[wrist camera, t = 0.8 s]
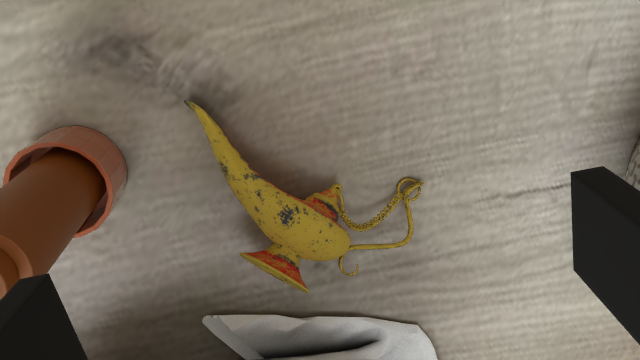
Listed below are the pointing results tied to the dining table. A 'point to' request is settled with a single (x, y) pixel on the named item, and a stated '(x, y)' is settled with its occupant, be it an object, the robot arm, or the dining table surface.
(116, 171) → the terracotta round cup
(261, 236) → the dining table surface
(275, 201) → the magic lamp
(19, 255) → the bottle
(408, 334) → the cloth
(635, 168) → the planter
